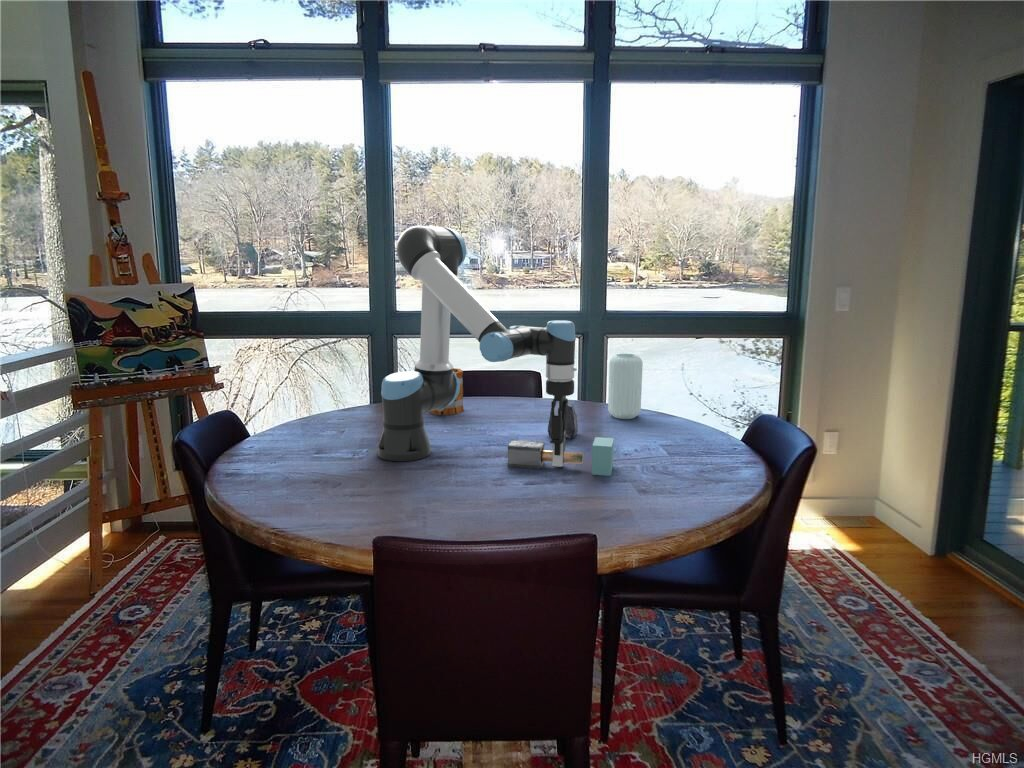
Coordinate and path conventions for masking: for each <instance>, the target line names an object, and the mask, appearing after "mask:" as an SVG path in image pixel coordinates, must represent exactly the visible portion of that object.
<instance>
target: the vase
mask: <svg viewBox="0 0 1024 768" xmlns="http://www.w3.org/2000/svg"><path fill="white" fill-rule="evenodd" d="M608 367H609V369H608V371H609V372H608V373H609V374H608V395H607V396H608V399H607V401H608V402H607V409H608V412H609V414H610V415H611V416H612V417H614V418H615V419H619V420H631V419H635V418H636V417H637V416H638V415H639V414H640V413H641V410H642V409H641V408H642V389H643V388H642V387H643V360H642V358H641V357H640V356H638V354H635V353H627V352H626V353H623V352H622V353H617V354H616V353H615V355H613V356H612V357H611V358H610V360H609V366H608Z"/></svg>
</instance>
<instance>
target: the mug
mask: <svg viewBox="0 0 1024 768" xmlns="http://www.w3.org/2000/svg"><path fill="white" fill-rule="evenodd" d="M453 371H454V372H455V374H456V375H457V376H456V377H457V378H458V379H459V383H460V390H459V394H458V396H457V398H456V400H455V401H454V402H453V403H451V404H450V405H447V406H446V407H444V408H441V409H436V410H433V411H430V412H429V414H432V415H439V416H448V415H449V416H451V415H458V414H461V413H463V412H464V411H465V410H464V409H465V408H464V385H463V383H464V382H463V375H464V371H463V370H462V369H461V368H457V367H456V368H454V367H453Z"/></svg>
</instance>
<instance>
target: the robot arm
mask: <svg viewBox="0 0 1024 768" xmlns="http://www.w3.org/2000/svg"><path fill="white" fill-rule="evenodd" d="M396 253H397V254H396V255H397V258H398V260H399V262H400V265H401V266H402V268H403V269H405V272H407V273H408V274H409V275H410V276H411V277H412V278H413V280H415V281H421V283H422V287H421V315H420V316H421V317H420V322H421V323H420V341H419V342H420V343H419V344H420V346H419V347H420V348H419V351H420V353H419V360H418V361H417V362H416V363H414V370H405V371H398V372H393V373H390V374H389V375H387V376H385V377H384V378H383V379H382V382H381V392H380V395H381V408H382V411H381V412H382V432H381V435H380V439H379V442H378V446H377V456H378V458H380V459H381V460H382V459H383V460H386V461H392V462H411V461H416V460H417V461H418V460H421V459H424V458H426V457H428V456H429V455H431V452H432V450H431V443H430V441H429V437H428V435H427V432H426V429H425V421H424V420H425V419H424V415H425V414H426V413H430V411H433V410H436V409H441V408H444V407H446V406H447V405H450V404H451V403H453V402H454V401H455V400H456V398H457V396H458V394H459V390H460V383H459V379H458V378H457V377H456V376H457V375H456V374H455V372H454V371H453V368H454V366H453V364H452V363H451V362H450V361H449V359H450V333H451V314H452V315H453V316H454V317H455V318H456V319H457V321H459V323H461V324H462V326H464V328H465V329H467V332H469V333H470V334H471V335H472V336H473V337H474V338H475V339H476V340H477V341H478V342H479V351H480V355H481V356H482V357H483V359H484V360H486V361H488V362H490V363H498V362H506V361H508V360H511V359H515V358H520V357H523V356H528V355H529V356H530V355H531V356H543V357H544V356H545V358H546V359H545V360H546V362H545V377H546V380H545V392H546V394H548V395H549V396H553V399H552V400H551V406H550V407H551V408H552V409H551V408H550V412H552V435H551V440H550V441H549V443H550V444H552V451H553V463H552V462H551V464H552V465H551V466H552V467H561V468H562V467H563V466H564V464H563V443H562V442H563V441H562V437H563V429H566V424H567V405H568V403H569V400H568V398H567V397H568V396H572V395H573V394H574V393H575V381H574V378H575V372H576V371H577V370H578V369H577V367H576V366H575V361H576V360H575V358H576V357H575V354H576V353H575V352H576V340H577V339H576V326H575V324H574V322H573V321H570V320H558V319H557V320H550V321H547V323H546V326H545V327H540V326H528V325H524V324H523V325H511V326H509V327H508V328H507V327H506V326H505V325H503V324H502V323H501V321H499V320H498V318H496V316H495V315H494V314H492V312H491V311H490V310H489V309H488V308H487V307H486V306H485V305H484V304H483V303H482V302H481V301H480V300H479V299H478V298H477V297H476V295H474V294H473V292H472V291H471V290H470V289H469V288H468V287H466V285H465V284H464V283H463V282H462V281H461V280H460V279H459V278H458V272H459V267H460V266H461V265H462V264H463V262H464V261H465V259H466V257H467V246H466V242H465V240H464V238H463V236H462V235H461V234H460V233H459V232H458V231H457V230H455V229H453V228H450V227H447V226H446V227H445V226H428V225H427V226H426V225H425V226H424V225H414V226H411V227H409V228H406V229H405V230H404V231H403V232H402V233H401V234H400V235H399V237H398V240H397V243H396ZM566 433H567V431H566ZM565 439H569V438H568V435H565Z"/></svg>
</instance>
